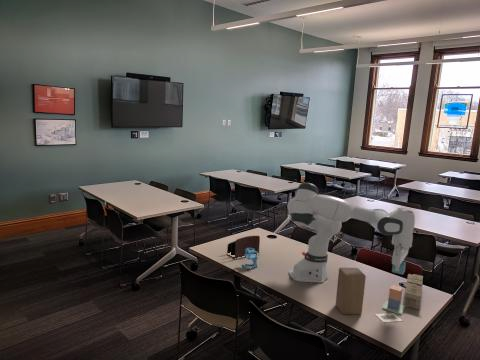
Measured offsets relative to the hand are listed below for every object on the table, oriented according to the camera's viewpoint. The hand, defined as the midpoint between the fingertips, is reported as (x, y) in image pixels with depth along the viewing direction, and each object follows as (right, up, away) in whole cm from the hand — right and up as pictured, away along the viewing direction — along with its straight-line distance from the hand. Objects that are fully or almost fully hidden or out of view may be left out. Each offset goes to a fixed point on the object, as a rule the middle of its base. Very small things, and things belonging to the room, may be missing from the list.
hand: (398, 268), depth 176 cm
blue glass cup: (-71, -11, +46) cm, 85 cm away
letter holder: (-75, -7, +66) cm, 101 cm away
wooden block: (-25, -20, 0) cm, 32 cm away
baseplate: (-1, -21, +3) cm, 21 cm away
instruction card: (-7, -22, -6) cm, 24 cm away
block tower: (+15, -20, +17) cm, 30 cm away
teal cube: (0, -2, 0) cm, 2 cm away
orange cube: (-1, -15, +2) cm, 15 cm away
